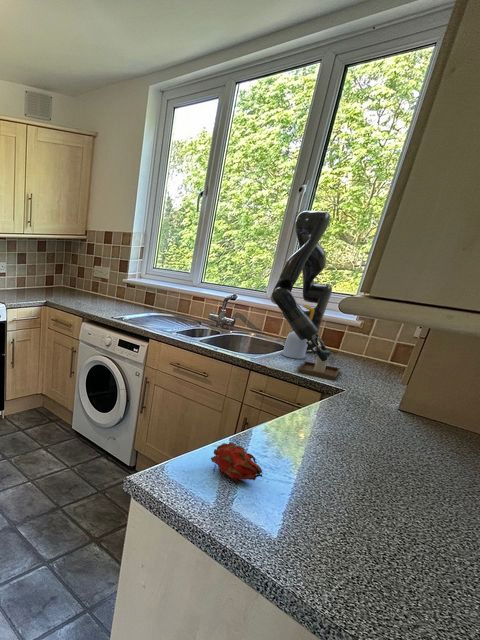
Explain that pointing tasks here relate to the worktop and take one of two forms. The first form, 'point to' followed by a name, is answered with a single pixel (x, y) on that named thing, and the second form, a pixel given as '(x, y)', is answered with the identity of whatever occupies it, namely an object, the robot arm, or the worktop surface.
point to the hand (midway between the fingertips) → (326, 358)
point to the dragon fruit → (236, 462)
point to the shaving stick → (321, 362)
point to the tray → (328, 373)
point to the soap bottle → (296, 342)
